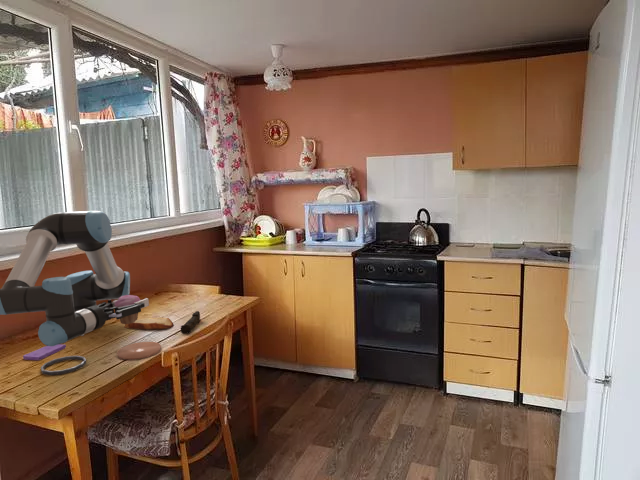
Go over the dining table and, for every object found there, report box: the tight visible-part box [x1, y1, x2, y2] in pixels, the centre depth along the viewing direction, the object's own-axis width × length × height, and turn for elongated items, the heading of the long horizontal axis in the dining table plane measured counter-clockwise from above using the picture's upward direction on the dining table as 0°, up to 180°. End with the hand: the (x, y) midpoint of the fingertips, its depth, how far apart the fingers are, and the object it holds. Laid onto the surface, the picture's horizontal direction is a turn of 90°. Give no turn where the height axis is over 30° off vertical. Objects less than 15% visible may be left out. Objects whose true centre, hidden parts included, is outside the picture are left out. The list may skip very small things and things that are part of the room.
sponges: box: [22, 343, 67, 361], centre depth 171 cm, size 7×13×2 cm, turn 166°
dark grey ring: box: [40, 355, 87, 376], centre depth 157 cm, size 13×13×1 cm
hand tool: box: [180, 310, 201, 335], centre depth 196 cm, size 19×4×5 cm, turn 175°
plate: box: [116, 341, 162, 361], centre depth 169 cm, size 15×15×1 cm
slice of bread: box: [124, 317, 174, 331], centre depth 198 cm, size 18×18×4 cm
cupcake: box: [115, 294, 142, 325], centre depth 165 cm, size 9×9×10 cm
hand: (137, 301), depth 169 cm, fingers closed on cupcake, 9 cm apart
